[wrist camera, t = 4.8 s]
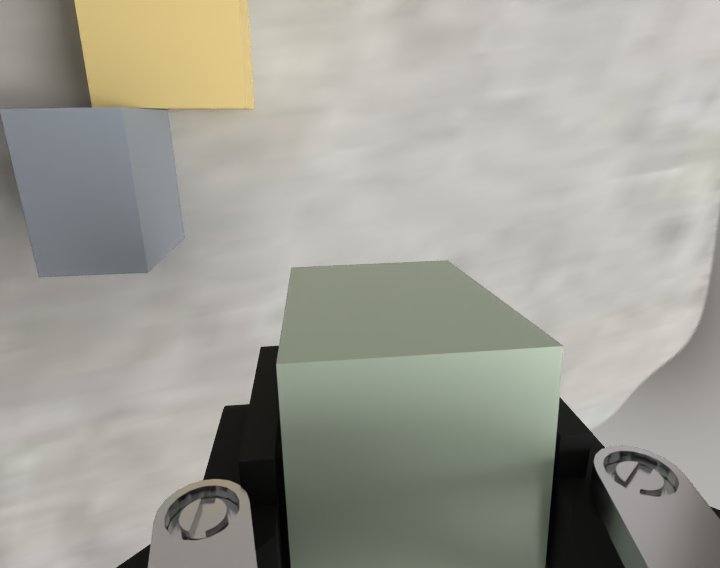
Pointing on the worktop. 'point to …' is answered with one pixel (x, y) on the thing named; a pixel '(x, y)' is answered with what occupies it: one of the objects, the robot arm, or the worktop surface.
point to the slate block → (95, 187)
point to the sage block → (414, 420)
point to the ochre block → (167, 53)
